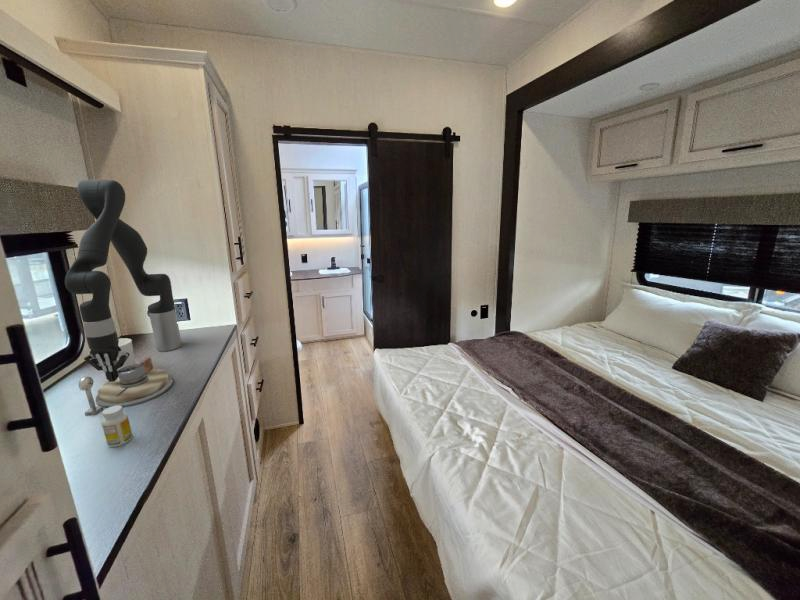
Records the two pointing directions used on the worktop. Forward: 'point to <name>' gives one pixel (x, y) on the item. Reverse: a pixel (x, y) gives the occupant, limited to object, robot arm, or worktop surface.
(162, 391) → the turntable base
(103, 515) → the worktop surface
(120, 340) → the candle holder
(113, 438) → the supplement bottle
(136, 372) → the cover
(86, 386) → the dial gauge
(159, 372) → the turntable
